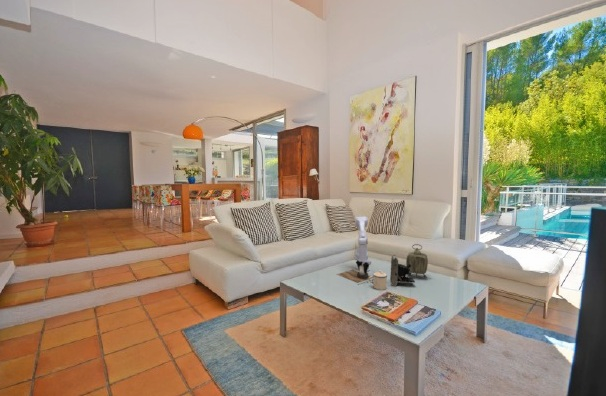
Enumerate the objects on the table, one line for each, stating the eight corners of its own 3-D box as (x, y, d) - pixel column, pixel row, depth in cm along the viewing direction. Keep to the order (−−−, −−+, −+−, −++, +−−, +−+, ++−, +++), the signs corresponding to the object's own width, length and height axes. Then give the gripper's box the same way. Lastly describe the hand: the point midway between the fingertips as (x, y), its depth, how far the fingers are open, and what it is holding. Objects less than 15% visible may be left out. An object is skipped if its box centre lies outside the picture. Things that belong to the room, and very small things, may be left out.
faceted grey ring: (362, 274, 210) (362, 271, 210) (370, 277, 204) (370, 273, 204) (355, 276, 206) (355, 273, 206) (363, 279, 199) (363, 276, 199)
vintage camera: (415, 288, 187) (416, 259, 186) (391, 286, 190) (392, 257, 189) (412, 283, 197) (413, 256, 196) (389, 281, 200) (391, 254, 199)
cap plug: (362, 273, 208) (362, 264, 207) (367, 275, 204) (367, 266, 204) (358, 274, 205) (358, 265, 205) (362, 276, 201) (362, 267, 201)
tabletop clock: (427, 276, 208) (428, 244, 207) (426, 280, 200) (427, 246, 199) (407, 273, 215) (407, 242, 213) (405, 277, 207) (406, 244, 205)
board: (352, 271, 221) (352, 269, 221) (374, 279, 204) (374, 277, 204) (336, 276, 211) (336, 274, 211) (357, 284, 193) (357, 282, 193)
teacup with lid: (386, 285, 192) (386, 269, 191) (387, 290, 183) (387, 273, 182) (368, 284, 195) (368, 267, 194) (368, 289, 186) (368, 272, 185)
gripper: (351, 252, 207) (351, 270, 208) (366, 256, 196) (366, 275, 196) (358, 251, 211) (358, 268, 212) (373, 255, 200) (373, 273, 201)
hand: (362, 271), depth 205 cm, fingers closed on cap plug, 5 cm apart
